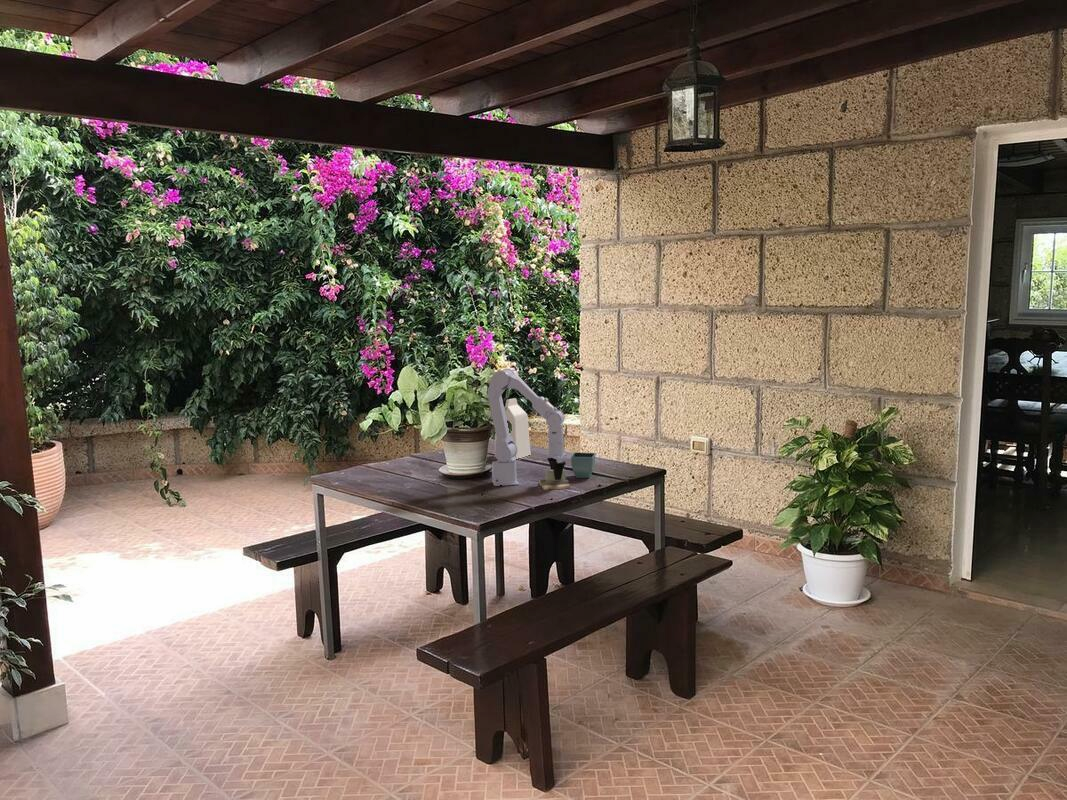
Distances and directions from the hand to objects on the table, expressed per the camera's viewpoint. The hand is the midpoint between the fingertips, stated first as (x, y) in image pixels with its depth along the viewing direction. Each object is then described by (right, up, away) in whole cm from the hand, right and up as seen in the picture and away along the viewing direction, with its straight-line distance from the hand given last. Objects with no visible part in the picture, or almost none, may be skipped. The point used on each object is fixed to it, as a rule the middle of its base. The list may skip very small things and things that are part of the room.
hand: (556, 477), depth 329 cm
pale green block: (-1, -2, 0) cm, 2 cm away
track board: (-1, -3, 0) cm, 3 cm away
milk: (-18, +4, +58) cm, 61 cm away
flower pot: (+11, -1, +14) cm, 18 cm away
